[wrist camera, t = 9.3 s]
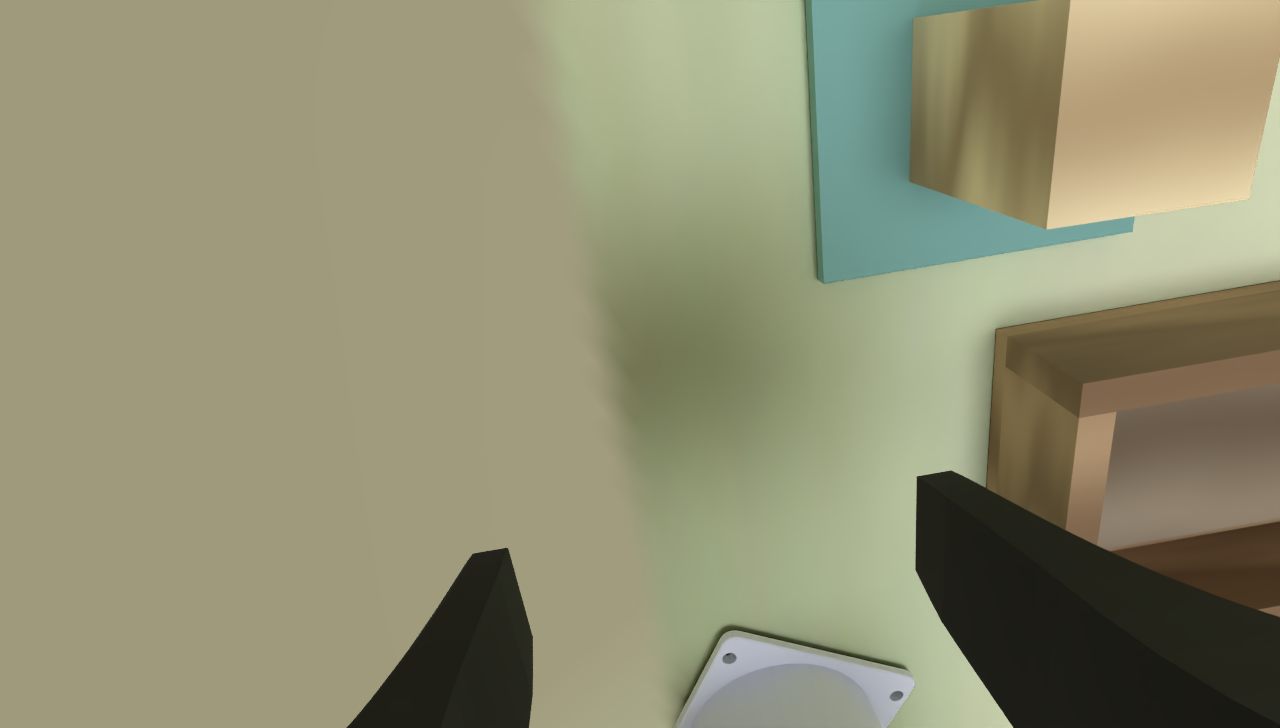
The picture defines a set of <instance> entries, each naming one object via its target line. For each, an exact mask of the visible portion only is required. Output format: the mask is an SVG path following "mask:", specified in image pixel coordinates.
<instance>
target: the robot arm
mask: <svg viewBox="0 0 1280 728" xmlns="http://www.w3.org/2000/svg"><path fill="white" fill-rule="evenodd" d="M916 572H917V574H918V576H919V578H920V580H921V582H922V584H923V586H924V588H925V590H926V592H927V594H928V596H929V598H930V600H931V602H932V604H933V606H934V608H935V610H936V611H937V613H938V615H939V617H940V619H941V621H942V623H943V624H944V626H945V627H946V629H947V630H948V632H949V633H950V635H951V636H952V638H953V639H954V641H955V642H956V644H957V645H958V647H959V648H960V650H961V651H962V653H963V654H964V656H965V657H966V659H967V660H968V662H969V663H970V665H971V666H972V668H973V669H974V670H975V672H976V673H977V675H978V676H979V678H980V679H981V681H982V682H983V684H984V685H985V687H986V688H987V689H988V691H989V692H990V694H991V695H992V697H993V698H994V700H995V701H996V703H997V704H998V706H999V707H1000V709H1001V710H1002V711H1003V713H1004V714H1005V716H1006V717H1007V719H1008V720H1009V722H1010V723H1011V725H1012V726H1013V728H1280V617H1278V616H1275V615H1272V614H1269V613H1266V612H1263V611H1260V610H1257V609H1254V608H1250V607H1247V606H1244V605H1242V604H1239V603H1236V602H1233V601H1230V600H1227V599H1225V598H1222V597H1219V596H1216V595H1214V594H1211V593H1208V592H1206V591H1203V590H1201V589H1198V588H1195V587H1193V586H1190V585H1188V584H1185V583H1183V582H1180V581H1178V580H1175V579H1172V578H1170V577H1167V576H1165V575H1162V574H1160V573H1157V572H1155V571H1153V570H1150V569H1148V568H1146V567H1143V566H1141V565H1139V564H1136V563H1134V562H1132V561H1130V560H1128V559H1125V558H1123V557H1121V556H1119V555H1117V554H1114V553H1112V552H1110V551H1108V550H1106V549H1104V548H1101V547H1099V546H1097V545H1095V544H1093V543H1091V542H1089V541H1087V540H1085V539H1083V538H1081V537H1078V536H1076V535H1074V534H1072V533H1070V532H1068V531H1066V530H1064V529H1062V528H1060V527H1058V526H1057V525H1055V524H1053V523H1051V522H1049V521H1047V520H1045V519H1043V518H1041V517H1039V516H1037V515H1035V514H1033V513H1032V512H1030V511H1028V510H1026V509H1024V508H1022V507H1020V506H1018V505H1017V504H1015V503H1013V502H1011V501H1009V500H1007V499H1005V498H1003V497H1002V496H1000V495H998V494H996V493H994V492H992V491H990V490H989V489H987V488H985V487H983V486H981V485H979V484H977V483H975V482H973V481H972V480H970V479H968V478H966V477H964V476H962V475H960V474H957V473H955V472H953V471H946V472H940V473H935V474H929V475H923V476H917V504H916ZM727 653H732V654H730V655H725V654H727ZM914 686H915V680H914V678H913V676H912V675H911V673H910V672H909V671H907V670H905V669H900V668H896V667H892V666H887V665H883V664H879V663H875V662H870V661H866V660H862V659H858V658H853V657H849V656H845V655H840V654H836V653H832V652H828V651H823V650H819V649H815V648H811V647H806V646H802V645H798V644H793V643H789V642H785V641H781V640H776V639H772V638H768V637H763V636H759V635H755V634H751V633H746V632H742V631H736V630H732V631H728V632H726V633H725V634H723V635H722V637H721V638H720V640H719V642H718V643H717V645H716V647H715V649H714V651H713V653H712V655H711V657H710V659H709V661H708V662H707V664H706V666H705V668H704V670H703V672H702V674H701V676H700V678H699V680H698V681H697V683H696V685H695V687H694V689H693V691H692V693H691V695H690V697H689V699H688V700H687V702H686V704H685V706H684V708H683V710H682V712H681V714H680V716H679V718H678V719H677V721H676V723H675V725H674V727H673V728H887V727H888V725H889V724H890V722H891V721H892V719H893V718H894V716H895V715H896V713H897V712H898V710H899V709H900V707H901V706H902V704H903V703H904V702H905V700H906V699H907V697H908V696H909V694H910V693H911V691H912V690H913V688H914ZM532 690H533V636H532V633H531V629H530V626H529V622H528V618H527V615H526V611H525V608H524V604H523V601H522V597H521V594H520V590H519V586H518V583H517V579H516V576H515V572H514V568H513V565H512V561H511V557H510V554H509V550H508V548H504V549H498V550H492V551H486V552H480V553H475V554H472V556H471V557H470V558H469V560H468V561H467V563H466V564H465V566H464V567H463V569H462V570H461V572H460V573H459V575H458V577H457V578H456V580H455V581H454V583H453V584H452V586H451V588H450V589H449V591H448V592H447V594H446V596H445V597H444V598H443V600H442V601H441V603H440V605H439V606H438V608H437V609H436V611H435V612H434V614H433V615H432V617H431V618H430V620H429V621H428V622H427V624H426V625H425V627H424V629H423V630H422V631H421V633H420V634H419V636H418V637H417V638H416V640H415V641H414V643H413V644H412V646H411V647H410V649H409V650H408V651H407V653H406V654H405V655H404V657H403V658H402V660H401V661H400V662H399V664H398V665H397V666H396V667H395V669H394V670H393V671H392V673H391V674H390V675H389V676H388V678H387V679H386V680H385V682H384V683H383V684H382V686H381V687H380V688H379V690H378V691H377V692H376V694H375V695H374V696H373V697H372V699H371V700H370V701H369V702H368V703H367V705H366V706H365V707H364V708H363V710H362V711H361V712H360V713H359V714H358V715H357V717H356V718H355V719H354V720H353V721H352V722H351V724H350V725H349V726H348V727H347V728H529V721H530V711H531V704H532V695H533V691H532Z"/></svg>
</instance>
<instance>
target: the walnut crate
mask: <svg viewBox="0 0 1280 728" xmlns="http://www.w3.org/2000/svg"><path fill="white" fill-rule="evenodd" d="M986 488H987V489H989V490H990V491H992V492H994V493H996V494H998V495H1000V496H1002V497H1003V498H1005V499H1007V500H1009V501H1011V502H1013V503H1015V504H1017V505H1018V506H1020V507H1022V508H1024V509H1026V510H1028V511H1030V512H1032V513H1033V514H1035V515H1037V516H1039V517H1041V518H1043V519H1045V520H1047V521H1049V522H1051V523H1053V524H1055V525H1057V526H1058V527H1060V528H1062V529H1064V530H1066V531H1068V532H1070V533H1072V534H1074V535H1076V536H1078V537H1081V538H1083V539H1085V540H1087V541H1089V542H1091V543H1093V544H1095V545H1097V546H1099V547H1101V548H1104V549H1106V550H1108V551H1110V552H1112V553H1114V554H1117V555H1119V556H1121V557H1123V558H1125V559H1128V560H1130V561H1132V562H1134V563H1136V564H1139V565H1141V566H1143V567H1146V568H1148V569H1150V570H1153V571H1155V572H1157V573H1160V574H1162V575H1165V576H1167V577H1170V578H1172V579H1175V580H1178V581H1180V582H1183V583H1185V584H1188V585H1190V586H1193V587H1195V588H1198V589H1201V590H1203V591H1206V592H1208V593H1211V594H1214V595H1216V596H1219V597H1222V598H1225V599H1227V600H1230V601H1233V602H1236V603H1239V604H1242V605H1244V606H1247V607H1250V608H1254V609H1257V610H1260V611H1263V612H1266V613H1269V614H1272V615H1275V616H1278V617H1280V281H1275V282H1270V283H1264V284H1258V285H1252V286H1246V287H1240V288H1235V289H1229V290H1223V291H1217V292H1211V293H1205V294H1200V295H1194V296H1188V297H1182V298H1176V299H1170V300H1164V301H1159V302H1153V303H1147V304H1141V305H1135V306H1129V307H1124V308H1118V309H1112V310H1106V311H1100V312H1094V313H1088V314H1083V315H1077V316H1071V317H1065V318H1059V319H1053V320H1048V321H1042V322H1036V323H1030V324H1024V325H1018V326H1012V327H1007V328H1001V329H996V342H995V358H994V374H993V390H992V407H991V423H990V439H989V455H988V471H987V487H986Z"/></svg>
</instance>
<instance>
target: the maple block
mask: <svg viewBox="0 0 1280 728" xmlns="http://www.w3.org/2000/svg"><path fill="white" fill-rule="evenodd" d="M1279 58H1280V0H1037V1H1030V2H1023V3H1016V4H1009V5H1002V6H995V7H988V8H981V9H974V10H967V11H960V12H953V13H946V14H939V15H932V16H925V17H918V18H913V58H912V99H911V139H910V180H909V182H912V183H914V184H917V185H920V186H923V187H926V188H929V189H932V190H934V191H937V192H940V193H943V194H946V195H949V196H952V197H954V198H957V199H960V200H963V201H966V202H969V203H972V204H975V205H977V206H980V207H983V208H986V209H989V210H992V211H995V212H997V213H1000V214H1003V215H1006V216H1009V217H1012V218H1015V219H1018V220H1020V221H1023V222H1026V223H1029V224H1032V225H1035V226H1038V227H1040V228H1043V229H1046V230H1047V229H1054V228H1061V227H1067V226H1074V225H1080V224H1087V223H1094V222H1100V221H1107V220H1113V219H1120V218H1127V217H1133V216H1140V215H1146V214H1153V213H1160V212H1166V211H1173V210H1179V209H1186V208H1193V207H1199V206H1206V205H1212V204H1219V203H1226V202H1232V201H1239V200H1245V199H1249V194H1250V190H1251V185H1252V181H1253V176H1254V172H1255V167H1256V162H1257V158H1258V153H1259V149H1260V144H1261V140H1262V135H1263V131H1264V126H1265V121H1266V117H1267V112H1268V108H1269V103H1270V99H1271V94H1272V89H1273V85H1274V80H1275V76H1276V71H1277V67H1278V62H1279Z"/></svg>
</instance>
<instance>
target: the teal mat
mask: <svg viewBox="0 0 1280 728" xmlns="http://www.w3.org/2000/svg"><path fill="white" fill-rule="evenodd" d="M1030 1H1037V0H805V6H806V27H807V49H808V70H809V91H810V113H811V134H812V155H813V177H814V198H815V220H816V241H817V262H818V279H819V280H820V281H821V282H822V283H823V284H826V283H832V282H838V281H844V280H850V279H856V278H862V277H868V276H874V275H879V274H885V273H891V272H897V271H903V270H909V269H915V268H921V267H927V266H933V265H939V264H944V263H950V262H956V261H962V260H968V259H974V258H980V257H986V256H992V255H998V254H1004V253H1009V252H1015V251H1021V250H1027V249H1033V248H1039V247H1045V246H1051V245H1057V244H1063V243H1069V242H1074V241H1080V240H1086V239H1092V238H1098V237H1104V236H1110V235H1116V234H1122V233H1128V232H1132V231H1133V224H1134V217H1135V216H1133V217H1127V218H1120V219H1113V220H1107V221H1100V222H1094V223H1087V224H1080V225H1074V226H1067V227H1061V228H1054V229H1047V230H1046V229H1043V228H1040V227H1038V226H1035V225H1032V224H1029V223H1026V222H1023V221H1020V220H1018V219H1015V218H1012V217H1009V216H1006V215H1003V214H1000V213H997V212H995V211H992V210H989V209H986V208H983V207H980V206H977V205H975V204H972V203H969V202H966V201H963V200H960V199H957V198H954V197H952V196H949V195H946V194H943V193H940V192H937V191H934V190H932V189H929V188H926V187H923V186H920V185H917V184H914V183H912V182H909V180H910V139H911V99H912V58H913V18H918V17H925V16H932V15H939V14H946V13H953V12H960V11H967V10H974V9H981V8H988V7H995V6H1002V5H1009V4H1016V3H1023V2H1030Z"/></svg>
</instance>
